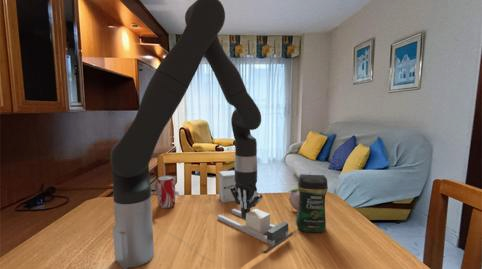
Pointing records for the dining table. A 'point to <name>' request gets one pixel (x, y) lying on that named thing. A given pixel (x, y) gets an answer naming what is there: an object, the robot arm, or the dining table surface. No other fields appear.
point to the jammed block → (258, 221)
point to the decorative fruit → (294, 198)
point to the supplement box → (226, 185)
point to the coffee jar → (312, 203)
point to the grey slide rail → (273, 234)
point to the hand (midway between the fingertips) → (245, 217)
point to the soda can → (166, 191)
